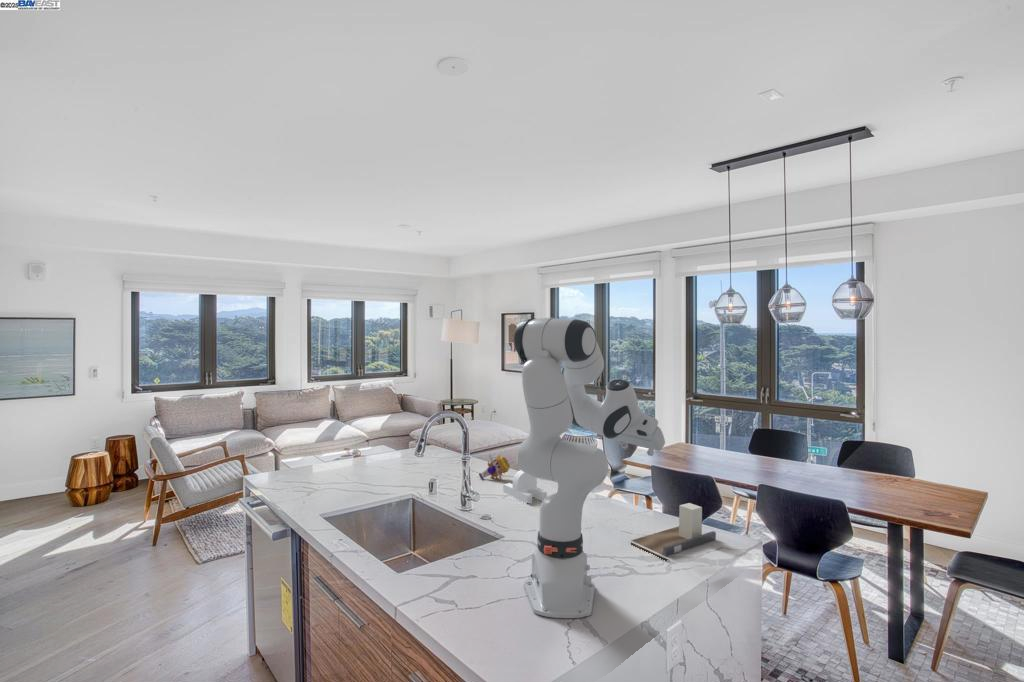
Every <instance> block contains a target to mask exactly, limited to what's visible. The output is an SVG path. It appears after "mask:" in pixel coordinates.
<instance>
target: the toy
mask: <svg viewBox="0 0 1024 682" xmlns="http://www.w3.org/2000/svg"><path fill="white" fill-rule="evenodd" d="M488 458H489V460H491V462H489V461H487V466H488V467H487V468H486V469H485V470H484V471H482V473H481V472H479V473H478V475H479V478H480V479H481V480H484V478H487V477H488V476H490V478H491V479H494V478H495V479H497V478H499V479H500V480H501V482H502V480H503V477H502V476H503V474H504V475H505V474H506V473H508V472H509V471H510V468H511V467H510V463H509V459H507V458H506V457H505V456H501V455H500V454H499V455H497V457H496V458H495V459H493V457H492V455H491V454H489V455H488Z"/></svg>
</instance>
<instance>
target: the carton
mask: <svg viewBox="0 0 1024 682" xmlns="http://www.w3.org/2000/svg"><path fill="white" fill-rule="evenodd" d="M678 507H679V508H678V509H679V514H678V515H679V516H678V517H679V518H678V526H679V536H681V537H683V538H686V539H690V538H693V537H696V536H699V535H702V534H703V533H702V531H703V528H702V527H703V526H702V525H703V524H702V523H703V507H702V506H699V505H697V504H695V503H694V504H693V503H691V502H688V503H684V504H680V505H679V506H678Z"/></svg>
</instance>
